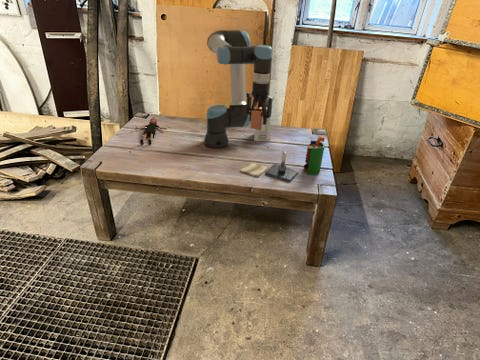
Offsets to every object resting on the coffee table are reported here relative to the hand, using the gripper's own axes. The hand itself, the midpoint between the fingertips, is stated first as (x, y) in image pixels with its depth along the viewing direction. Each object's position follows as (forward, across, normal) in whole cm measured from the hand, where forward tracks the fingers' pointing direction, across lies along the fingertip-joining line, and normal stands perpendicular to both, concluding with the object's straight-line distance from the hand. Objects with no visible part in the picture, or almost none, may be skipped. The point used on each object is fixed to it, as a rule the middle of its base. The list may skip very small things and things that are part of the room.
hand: (257, 128), depth 160 cm
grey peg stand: (+24, +14, +5) cm, 28 cm away
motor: (+24, +26, +18) cm, 40 cm away
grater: (+24, -16, +41) cm, 50 cm away
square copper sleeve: (-1, 0, 0) cm, 1 cm away
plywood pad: (+24, 0, 0) cm, 24 cm away
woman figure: (+24, -77, +3) cm, 81 cm away
